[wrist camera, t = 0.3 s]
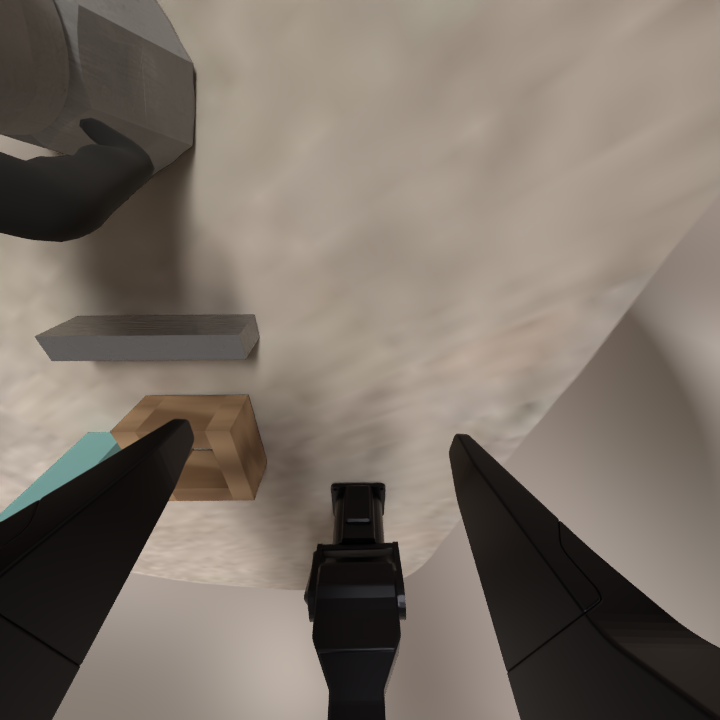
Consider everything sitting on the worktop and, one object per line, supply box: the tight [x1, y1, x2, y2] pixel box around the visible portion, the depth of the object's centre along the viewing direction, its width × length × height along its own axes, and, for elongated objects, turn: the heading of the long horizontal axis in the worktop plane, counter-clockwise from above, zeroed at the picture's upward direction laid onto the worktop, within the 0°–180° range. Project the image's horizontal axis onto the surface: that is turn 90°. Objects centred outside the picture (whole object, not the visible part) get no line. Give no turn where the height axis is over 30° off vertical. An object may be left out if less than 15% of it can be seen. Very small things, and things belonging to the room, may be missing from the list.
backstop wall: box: [35, 315, 259, 361], centre depth 21 cm, size 2×14×4 cm, turn 91°
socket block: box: [110, 395, 267, 501], centre depth 27 cm, size 10×10×4 cm
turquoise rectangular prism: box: [0, 432, 122, 522], centre depth 26 cm, size 4×4×9 cm
